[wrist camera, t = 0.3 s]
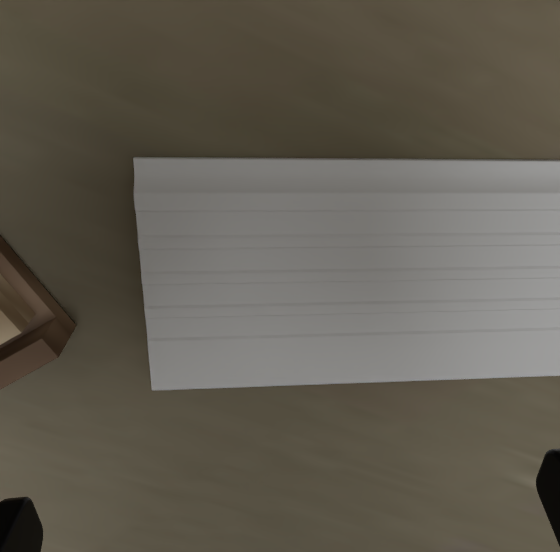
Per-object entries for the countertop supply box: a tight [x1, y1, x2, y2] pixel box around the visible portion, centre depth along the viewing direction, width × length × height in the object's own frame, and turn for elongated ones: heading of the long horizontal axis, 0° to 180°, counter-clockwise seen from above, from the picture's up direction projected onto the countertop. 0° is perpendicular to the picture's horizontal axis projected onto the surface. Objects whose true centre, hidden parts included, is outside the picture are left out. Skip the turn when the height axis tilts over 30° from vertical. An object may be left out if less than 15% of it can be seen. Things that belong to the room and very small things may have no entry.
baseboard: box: [133, 157, 560, 390], centre depth 22 cm, size 31×3×12 cm
